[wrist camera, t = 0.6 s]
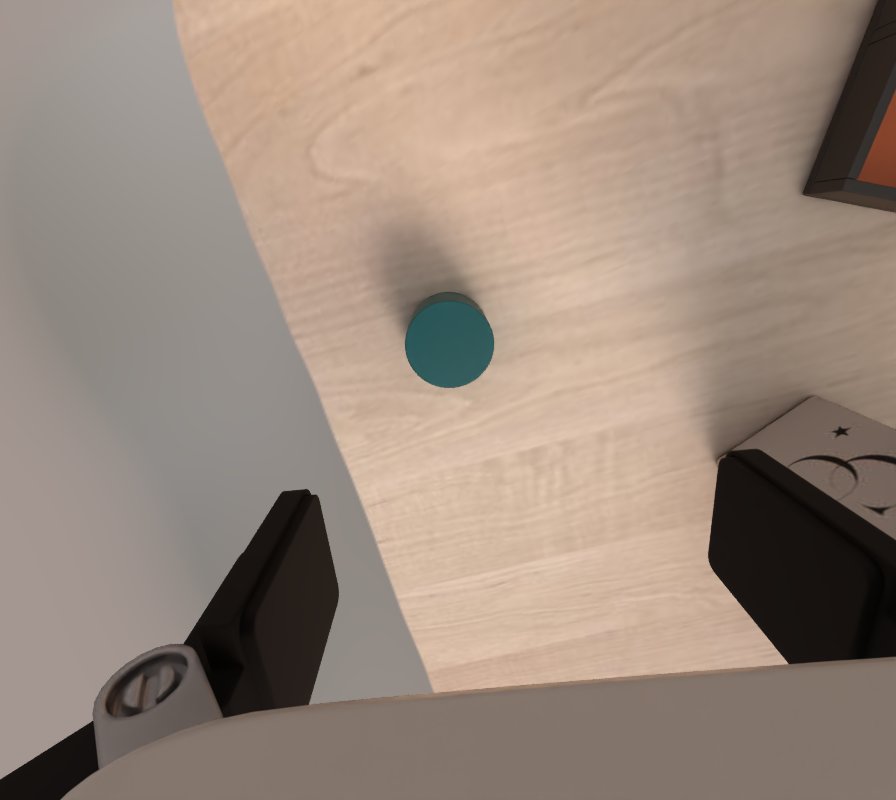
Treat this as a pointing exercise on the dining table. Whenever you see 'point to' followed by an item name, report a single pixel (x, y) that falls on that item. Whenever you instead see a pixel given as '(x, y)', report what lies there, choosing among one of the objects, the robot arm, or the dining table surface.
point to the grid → (864, 125)
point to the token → (449, 340)
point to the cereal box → (837, 456)
